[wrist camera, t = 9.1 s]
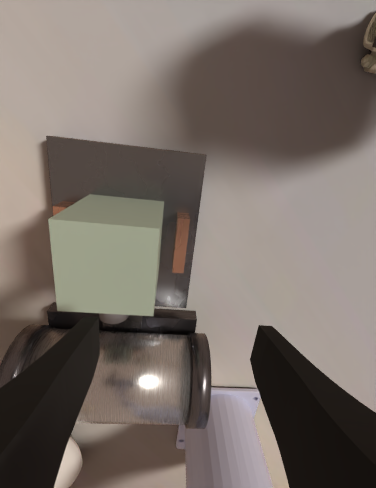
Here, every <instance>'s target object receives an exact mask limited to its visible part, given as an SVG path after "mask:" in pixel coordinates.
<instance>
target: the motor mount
mask: <svg viewBox="0 0 376 488" xmlns="http://www.w3.org/2000/svg"><path fill="white" fill-rule="evenodd" d="M46 139H47V150H48V162H49V173H50V185H51V196H52V208H53V216H54V215H56V214H57V213H59V212H61V211H62V210H64V209H66V208H68V207H69V206H71V205H73V204H74V203H76V202H78V201H79V200H81V199H83V198H84V197H86V196H88V195H89V194H93V195H103V196H113V197H123V198H134V199H144V200H154V201H164V210H163V223H162V236H161V249H160V262H159V272H158V281H157V289H156V298H155V306H163V307H179V308H186V305H187V297H188V290H189V282H190V275H191V267H192V260H193V252H194V245H195V237H196V230H197V222H198V215H199V207H200V200H201V192H202V185H203V177H204V170H205V162H206V155H205V154H196V153H188V152H180V151H171V150H163V149H155V148H147V147H138V146H130V145H122V144H113V143H105V142H97V141H88V140H80V139H72V138H64V137H55V136H46ZM47 313H48V322H49V325H30V326H27V327H26V328H24V329H23V330H22V331H21V332H20V333H19V334H18V335H17V337H16V338H15V339H14V341H13V342H12V344H11V345H10V347H9V349H8V350H7V352H6V354H5V356H4V359H3V361H2V363H1V366H0V388H1V387H2V386H4V385H5V384H6V383H8V382H9V381H11V380H12V379H13V378H15V377H16V376H17V375H19V374H20V373H21V372H22V371H24V370H25V369H26V368H27V367H29V366H30V365H31V364H32V363H33V362H35V361H36V360H37V359H38V358H40V357H41V356H42V355H43V354H44V353H45V352H47V351H48V350H49V349H50V348H51V347H52V346H53V345H54V344H55V343H57V342H58V341H59V340H60V339H61V338H62V337H63V336H64V335H65V334H66V333H67V332H68V331H70V330H71V329H72V328H73V327H74V326H75V325H76V324H77V323H78V322H79V321H80V320H81V319H82V318H83V317H99V313H85V312H67V311H57V304H56V303H53V305H52V306H51V307H50V308H49V310H48V311H47ZM196 321H197V319H196V311H185V310H169V309H154V315H153V316H139V315H129V316H128V318H127V319H126V320H125V321H123V322H121V323H118V324H107V323H104V322H102V321H101V320H100V318H99V343H100V355H99V359H98V363H97V366H96V370H95V373H94V377H93V380H92V382H91V385H90V387H89V390H88V392H87V395H86V398H85V400H84V403H83V405H82V408H81V410H80V413H79V415H78V418H77V420H76V423H98V424H152V425H185V427H186V429H205V428H206V426H207V423H208V418H209V412H210V402H211V360H210V350H209V344H208V340H207V337H206V335H205V334H202V333H195V328H196Z"/></svg>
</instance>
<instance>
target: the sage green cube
mask: <svg viewBox="0 0 376 488" xmlns="http://www.w3.org/2000/svg"><path fill="white" fill-rule="evenodd" d="M163 210H164V201H154V200H144V199H134V198H123V197H113V196H103V195H93V194H89V195H88V196H86V197H84V198H83V199H81V200H79V201H78V202H76V203H74V204H73V205H71V206H69V207H68V208H66V209H64V210H62V211H61V212H59V213H57V214H56V215H54V216H52V217H51V218H49V219H48V223H49V233H50V243H51V253H52V263H53V273H54V283H55V293H56V304H57V311H67V312H85V313H99V318H100V320H101V321H102V322H104V323H107V324H118V323H121V322H123V321H125V320H126V319H127V318H128V316H129V315H139V316H153V315H154V307H155V298H156V289H157V281H158V272H159V262H160V249H161V236H162V223H163Z"/></svg>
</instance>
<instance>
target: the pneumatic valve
mask: <svg viewBox="0 0 376 488" xmlns="http://www.w3.org/2000/svg"><path fill="white" fill-rule="evenodd" d="M363 44H364V47H366V48H367V49H369V50H371V51H372V52H371V54H367V55H366V56H364V57H363V58H362V60H361V65H362V66H363V67H364V71H366V72H370V73H374V74H376V13H375V14H374V16H373V17H372V19H371V21H370V23H369V25H368V27H367V29H366V32H365V35H364V41H363Z"/></svg>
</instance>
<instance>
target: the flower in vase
mask: <svg viewBox="0 0 376 488" xmlns="http://www.w3.org/2000/svg"><path fill="white" fill-rule="evenodd" d="M82 465H83V460H82V455H81V451H80V448H79V446H78V445H77V443H76V442H75V441H74V439H73V438H72V437H70V438H69V441H68V443H67V446H66V449H65V452H64V456H63V459H62V462H61V465H60V469H59V472H58V475H57V478H56V482H55V485H54V488H69V487H70V486H71V485H72V484H73V482H74V481H75V479H76V478H77V476H78V475H79V473H80V471H81V469H82Z"/></svg>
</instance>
